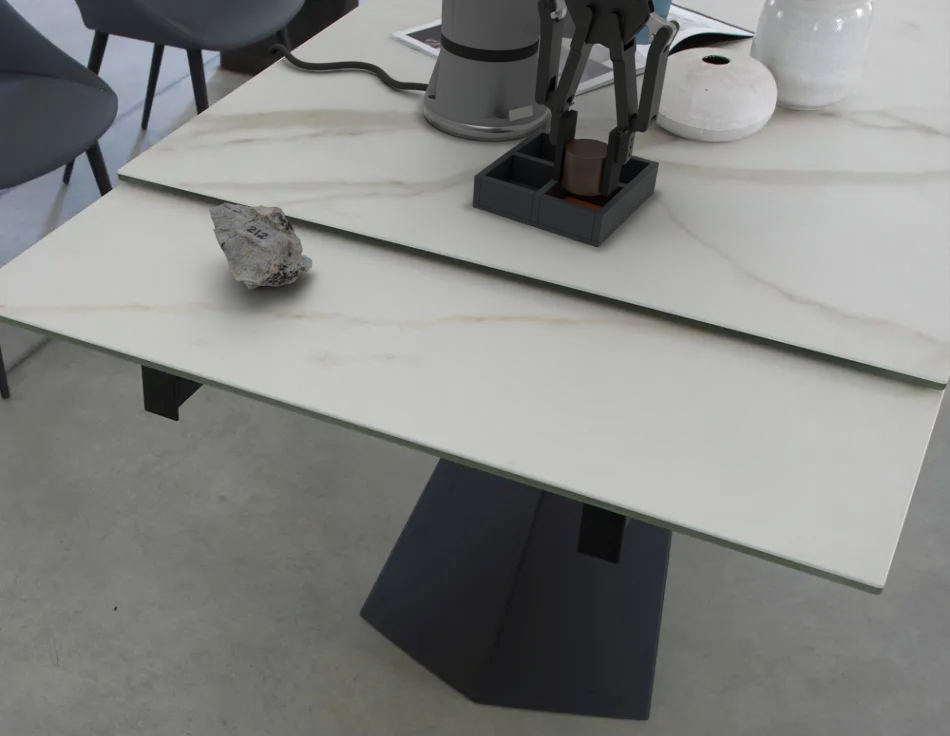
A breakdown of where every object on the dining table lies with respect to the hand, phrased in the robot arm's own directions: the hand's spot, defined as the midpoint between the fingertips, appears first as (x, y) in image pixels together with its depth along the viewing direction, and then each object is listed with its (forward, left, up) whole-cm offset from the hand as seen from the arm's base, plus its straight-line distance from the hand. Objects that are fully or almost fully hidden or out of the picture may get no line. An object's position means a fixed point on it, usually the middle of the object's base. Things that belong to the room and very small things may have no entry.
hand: (585, 182), depth 106 cm
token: (0, 0, 0) cm, 0 cm away
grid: (-4, +4, -4) cm, 7 cm away
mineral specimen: (-20, -28, -5) cm, 35 cm away
